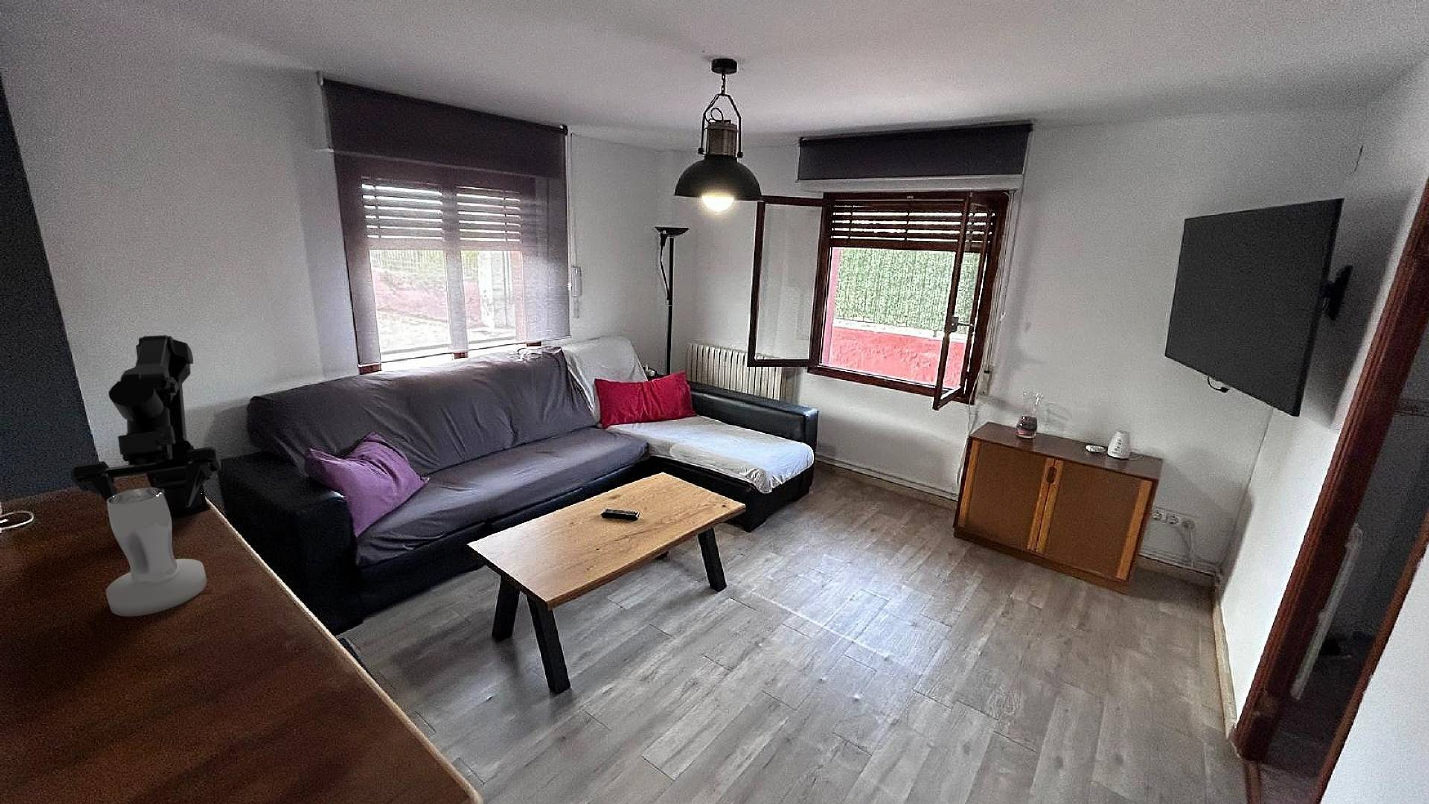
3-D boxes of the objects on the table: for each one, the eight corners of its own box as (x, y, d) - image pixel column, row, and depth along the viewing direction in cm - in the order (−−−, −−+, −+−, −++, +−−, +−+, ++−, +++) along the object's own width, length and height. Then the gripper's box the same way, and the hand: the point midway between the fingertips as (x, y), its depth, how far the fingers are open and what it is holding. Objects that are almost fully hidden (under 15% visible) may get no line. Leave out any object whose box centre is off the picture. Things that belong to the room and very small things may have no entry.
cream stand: (192, 566, 107) (189, 551, 106) (218, 589, 101) (214, 574, 100) (100, 597, 98) (96, 582, 97) (123, 626, 91) (118, 609, 90)
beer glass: (193, 563, 103) (174, 485, 98) (166, 587, 96) (145, 504, 92) (146, 567, 101) (125, 487, 97) (116, 590, 95) (92, 506, 90)
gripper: (57, 420, 96) (56, 508, 91) (206, 405, 107) (212, 483, 101) (83, 449, 105) (83, 531, 99) (218, 432, 115) (225, 506, 110)
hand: (152, 512), depth 102 cm, fingers open, 9 cm apart
